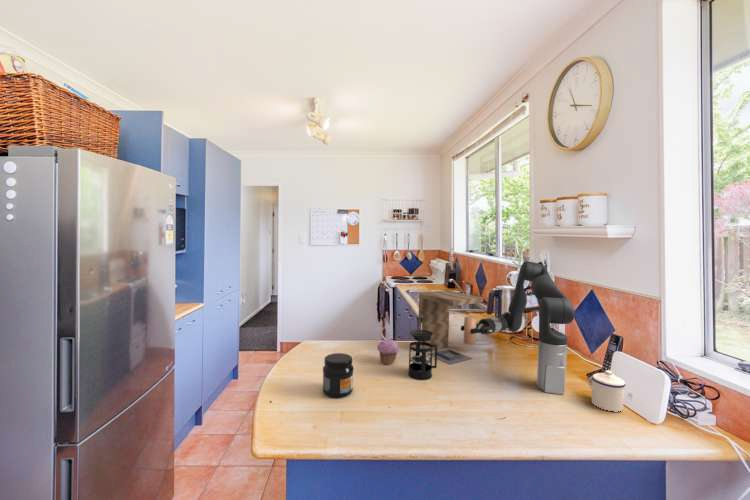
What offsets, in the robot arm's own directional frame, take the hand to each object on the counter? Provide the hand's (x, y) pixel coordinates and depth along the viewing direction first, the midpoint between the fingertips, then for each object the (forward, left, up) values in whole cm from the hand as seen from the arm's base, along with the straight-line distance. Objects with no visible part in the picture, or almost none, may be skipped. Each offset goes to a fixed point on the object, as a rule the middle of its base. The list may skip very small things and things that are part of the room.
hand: (466, 329), depth 158 cm
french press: (-31, +18, -11) cm, 38 cm away
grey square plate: (-7, +7, -11) cm, 15 cm away
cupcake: (-22, +33, -11) cm, 42 cm away
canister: (+2, -2, -7) cm, 7 cm away
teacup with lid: (-38, -43, -11) cm, 58 cm away
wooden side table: (-7, +7, -11) cm, 15 cm away
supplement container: (-53, +45, -11) cm, 71 cm away
